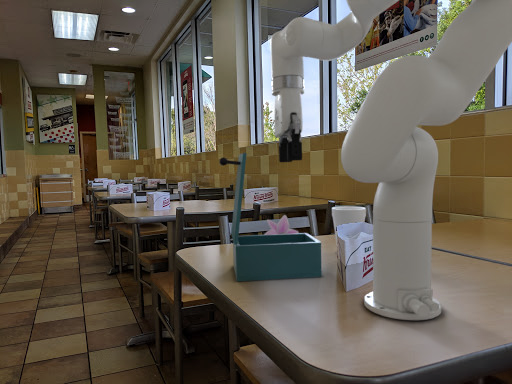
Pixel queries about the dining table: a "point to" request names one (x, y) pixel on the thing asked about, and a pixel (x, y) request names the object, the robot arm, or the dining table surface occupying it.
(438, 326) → the dining table surface
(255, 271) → the chest
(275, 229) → the lily
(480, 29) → the robot arm
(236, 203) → the lid
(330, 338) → the dining table surface
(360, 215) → the foam cup
